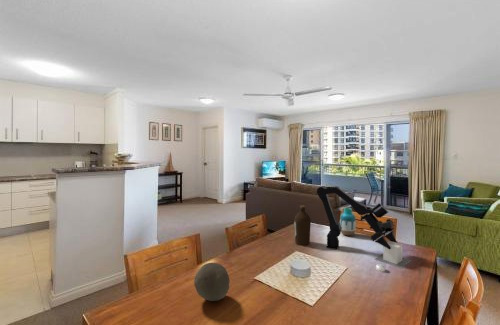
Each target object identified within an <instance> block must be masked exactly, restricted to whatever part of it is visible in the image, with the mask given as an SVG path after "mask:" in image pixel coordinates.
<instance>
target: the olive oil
mask: <svg viewBox="0 0 500 325" xmlns="http://www.w3.org/2000/svg"><path fill="white" fill-rule="evenodd" d="M293 219H294V222H293V224H294V243H295V244H296V245H298V246H302V247H303V246H309V245H310V242H311V240H310V239H311V223H312V222H311V221H312V220H311V216H310V215H309V214H308V213H307V212H306V206H305V205H299V212H297V213H296V215H295V216H294V218H293Z"/></svg>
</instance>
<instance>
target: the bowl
mask: <svg viewBox="0 0 500 325" xmlns="http://www.w3.org/2000/svg"><path fill="white" fill-rule="evenodd" d="M375 269H376V271H377V272H379V273H385V272H386V266H385V265H384V264H380V263H379V264H378V263H377V264H376V266H375Z"/></svg>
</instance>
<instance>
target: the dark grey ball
mask: <svg viewBox="0 0 500 325" xmlns="http://www.w3.org/2000/svg"><path fill="white" fill-rule="evenodd" d="M193 281H194V282H193V284H194V288H195V290H196V292H197V294H198V296H200V297H201V298H202V299H204V300H207V301H208V302H219V301H220V300H222V299H224V298H225V297H226V296H227V294H228V293H229V290H230V282H231V281H230V276H229V273H228V271H227V268H226V267H225V266H223V265H222V264H221V263H218V262H208V263H207V262H206V263H205V264H203V265H202V266H201V267H199V269H198V270H197V271H196V274H195V275H194V280H193Z"/></svg>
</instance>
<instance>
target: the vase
mask: <svg viewBox="0 0 500 325" xmlns="http://www.w3.org/2000/svg"><path fill="white" fill-rule="evenodd" d="M356 221H357V220H356V215H355V214H354V213H353V208H352V207H351V208H350V207H344V208H343V213H341V214H340V218H339V222H340V225H341V227H342V229H341V234H343V235H345V236H353V235H354V234H355V233H356V227H357V222H356Z"/></svg>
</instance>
